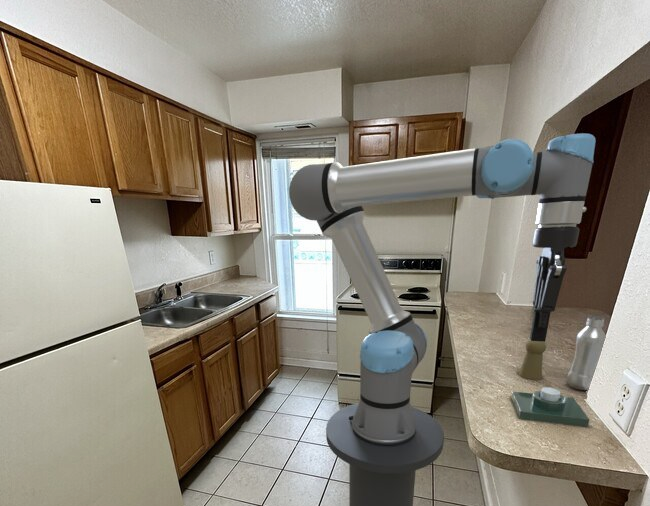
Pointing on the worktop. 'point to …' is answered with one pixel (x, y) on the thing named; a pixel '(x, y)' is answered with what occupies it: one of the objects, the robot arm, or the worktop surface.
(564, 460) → the worktop surface
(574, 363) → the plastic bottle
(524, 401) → the green button base
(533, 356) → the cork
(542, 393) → the white push button
